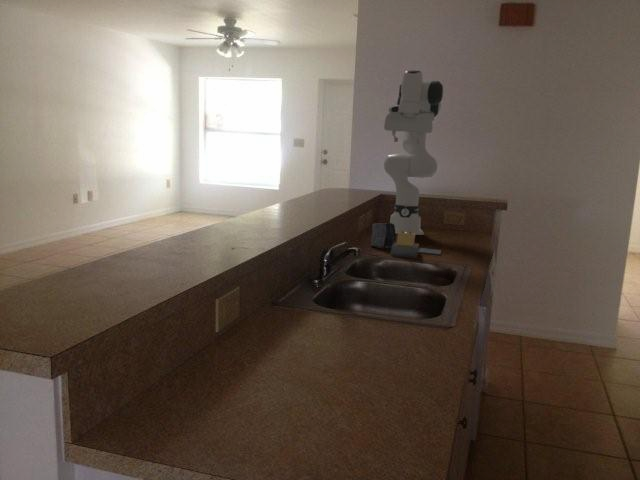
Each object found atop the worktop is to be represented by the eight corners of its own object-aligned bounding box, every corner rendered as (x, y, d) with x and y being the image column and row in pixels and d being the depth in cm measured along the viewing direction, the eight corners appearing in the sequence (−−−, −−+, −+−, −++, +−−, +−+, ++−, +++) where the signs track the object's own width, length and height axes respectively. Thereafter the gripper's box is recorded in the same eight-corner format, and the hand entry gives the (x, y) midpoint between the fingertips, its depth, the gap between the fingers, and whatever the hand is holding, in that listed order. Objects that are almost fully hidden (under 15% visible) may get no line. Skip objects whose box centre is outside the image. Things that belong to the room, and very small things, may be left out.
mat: (420, 249, 245) (420, 247, 245) (441, 251, 243) (441, 250, 242) (418, 253, 236) (418, 251, 236) (440, 255, 234) (440, 254, 234)
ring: (398, 242, 235) (399, 230, 234) (414, 244, 234) (415, 232, 233) (396, 245, 229) (397, 232, 228) (412, 246, 228) (413, 234, 227)
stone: (398, 252, 244) (386, 248, 236) (378, 252, 250) (366, 248, 242) (400, 225, 246) (388, 220, 238) (380, 226, 252) (368, 221, 244)
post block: (394, 250, 238) (395, 229, 236) (418, 253, 236) (420, 231, 234) (390, 255, 228) (392, 233, 227) (415, 257, 226) (417, 235, 224)
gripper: (435, 111, 241) (432, 144, 243) (387, 108, 246) (384, 141, 248) (434, 110, 235) (431, 143, 237) (385, 107, 240) (382, 141, 242)
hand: (406, 142), depth 243 cm, fingers open, 8 cm apart
